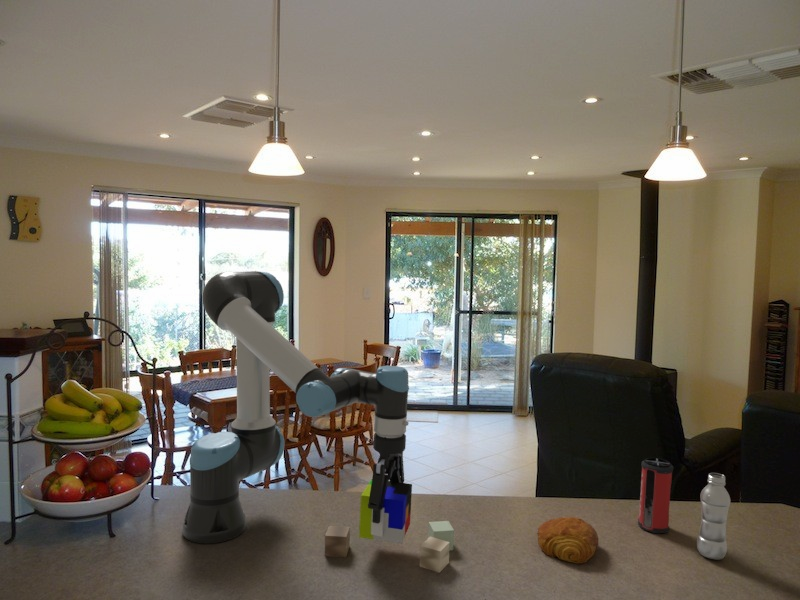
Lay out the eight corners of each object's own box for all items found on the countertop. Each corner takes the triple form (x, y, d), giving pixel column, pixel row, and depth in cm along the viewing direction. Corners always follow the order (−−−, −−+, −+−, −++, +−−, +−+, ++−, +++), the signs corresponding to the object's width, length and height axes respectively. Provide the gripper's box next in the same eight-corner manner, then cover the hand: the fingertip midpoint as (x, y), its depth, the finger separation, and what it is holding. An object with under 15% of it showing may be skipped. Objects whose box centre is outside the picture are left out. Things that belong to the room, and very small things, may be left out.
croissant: (600, 550, 147) (603, 518, 147) (592, 571, 132) (596, 536, 133) (542, 535, 153) (545, 505, 153) (529, 554, 139) (532, 520, 139)
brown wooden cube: (324, 556, 136) (324, 535, 135) (328, 545, 141) (329, 525, 140) (345, 557, 135) (346, 536, 135) (349, 547, 140) (349, 526, 140)
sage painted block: (433, 551, 139) (433, 531, 139) (428, 541, 144) (428, 522, 144) (453, 550, 140) (454, 530, 140) (447, 540, 145) (448, 520, 145)
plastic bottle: (723, 552, 143) (729, 472, 141) (728, 565, 136) (735, 482, 135) (694, 547, 145) (699, 468, 143) (698, 560, 139) (704, 478, 137)
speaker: (670, 536, 150) (675, 468, 149) (638, 531, 153) (642, 464, 151) (667, 524, 157) (672, 459, 156) (637, 518, 160) (641, 454, 159)
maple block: (419, 566, 132) (420, 545, 132) (429, 557, 137) (430, 536, 136) (439, 573, 130) (440, 551, 130) (448, 563, 134) (449, 542, 134)
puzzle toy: (401, 543, 132) (403, 501, 131) (359, 537, 134) (360, 495, 133) (410, 523, 142) (412, 484, 141) (370, 518, 144) (372, 478, 143)
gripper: (387, 451, 124) (383, 550, 126) (420, 422, 146) (415, 507, 148) (355, 445, 126) (351, 543, 128) (391, 418, 148) (387, 502, 150)
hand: (385, 524), depth 138 cm, fingers closed on puzzle toy, 10 cm apart
